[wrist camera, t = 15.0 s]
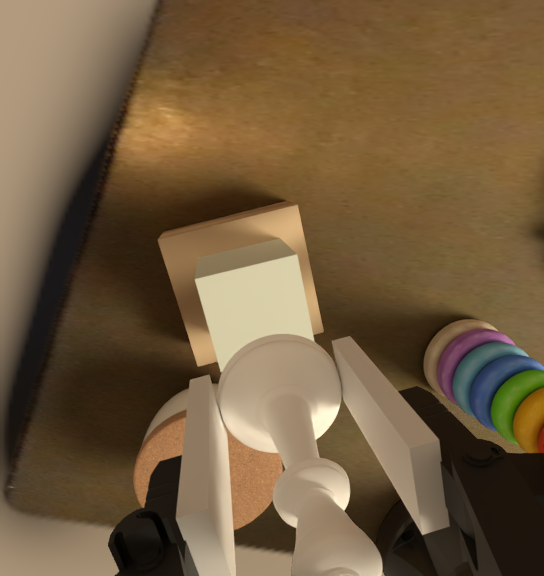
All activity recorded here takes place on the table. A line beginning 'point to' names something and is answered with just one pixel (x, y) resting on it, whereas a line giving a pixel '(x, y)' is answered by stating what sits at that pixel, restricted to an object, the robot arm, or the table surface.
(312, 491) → the chess piece
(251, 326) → the cube
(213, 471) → the robot arm
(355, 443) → the table surface
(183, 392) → the lidded jar
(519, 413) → the stacking toy
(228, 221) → the plinth
